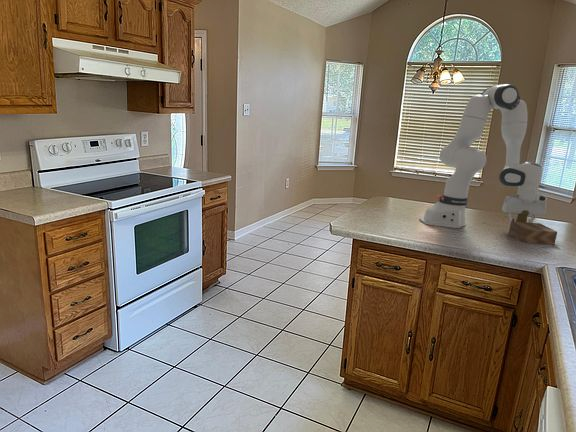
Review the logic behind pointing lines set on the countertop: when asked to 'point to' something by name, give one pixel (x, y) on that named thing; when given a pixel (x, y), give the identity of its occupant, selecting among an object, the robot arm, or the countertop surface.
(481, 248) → the countertop surface
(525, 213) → the cork
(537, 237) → the walnut block
